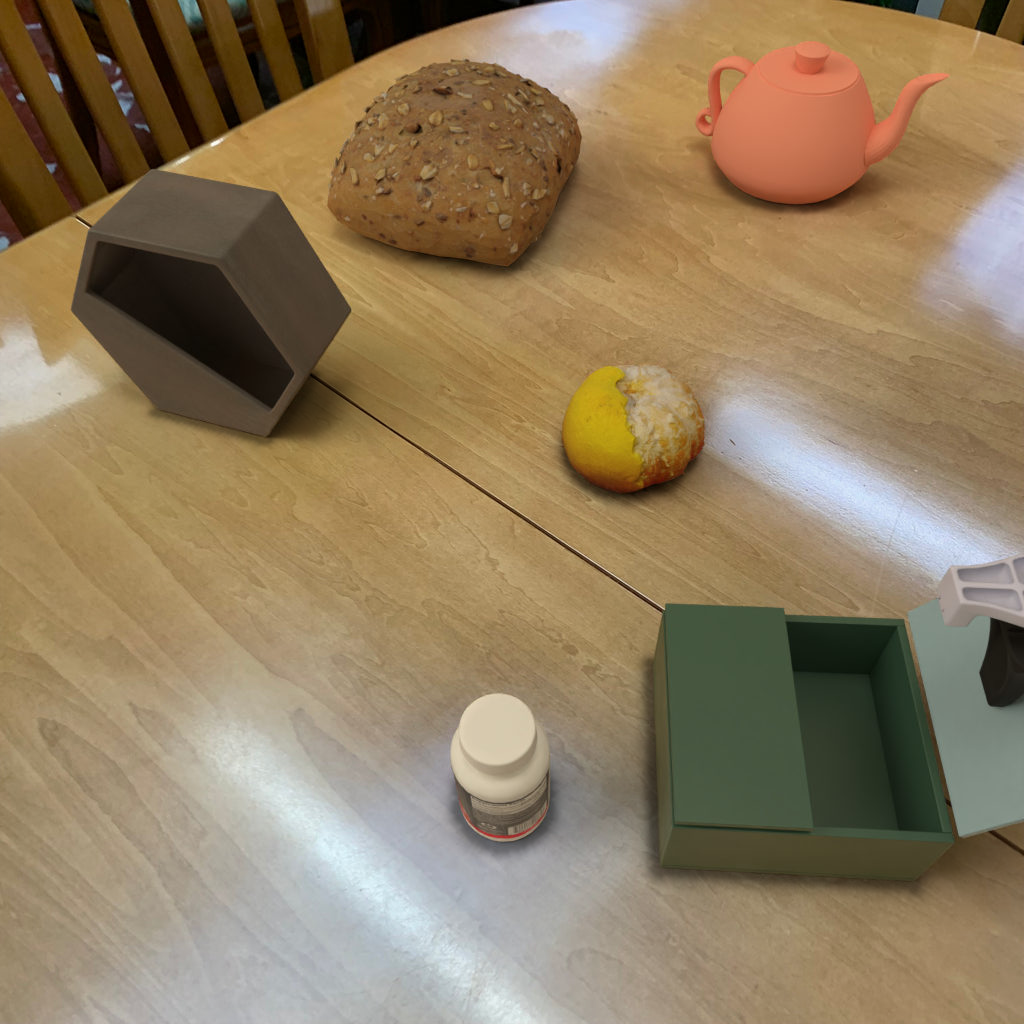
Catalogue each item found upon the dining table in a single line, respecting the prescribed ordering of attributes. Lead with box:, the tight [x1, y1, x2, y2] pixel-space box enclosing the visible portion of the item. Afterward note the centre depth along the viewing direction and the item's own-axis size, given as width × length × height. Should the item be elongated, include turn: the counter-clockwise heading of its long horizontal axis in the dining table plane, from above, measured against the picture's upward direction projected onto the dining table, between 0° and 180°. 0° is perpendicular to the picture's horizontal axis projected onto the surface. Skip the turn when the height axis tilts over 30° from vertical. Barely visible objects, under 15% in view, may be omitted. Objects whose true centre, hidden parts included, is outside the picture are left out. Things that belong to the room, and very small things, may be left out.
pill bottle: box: [449, 692, 551, 843], centre depth 51 cm, size 5×5×10 cm
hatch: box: [906, 597, 1024, 839], centre depth 47 cm, size 7×13×1 cm
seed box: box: [652, 602, 956, 882], centre depth 53 cm, size 14×13×7 cm
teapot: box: [694, 40, 950, 205], centre depth 89 cm, size 22×16×12 cm
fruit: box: [561, 362, 706, 495], centre depth 69 cm, size 11×10×8 cm
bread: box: [326, 58, 583, 267], centre depth 88 cm, size 24×21×12 cm
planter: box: [70, 168, 352, 438], centre depth 69 cm, size 17×8×21 cm
